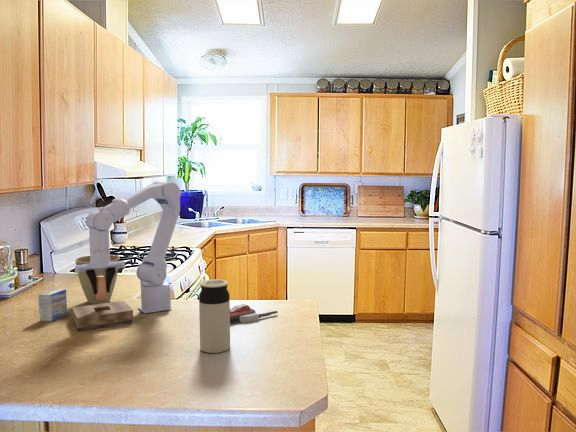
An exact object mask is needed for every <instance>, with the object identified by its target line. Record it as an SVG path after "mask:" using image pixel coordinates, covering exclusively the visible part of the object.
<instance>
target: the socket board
mask: <svg viewBox="0 0 576 432" xmlns="http://www.w3.org/2000/svg"><path fill="white" fill-rule="evenodd" d="M71 310H72V311H71V313H72V315H71V316H72V321H73V323H74V326H75V328H76V330H77V332H83V331H88V330H89V331H90V330H96V329H101V328H108V327H113V326H122V325H129V324H133V323H134V310H133V309H132V307H130V306H129V305H128V304H127V302H126V301H125V300H120V301H119V300H118V301H112V302H110V301H109V302H106V303H102V304H90V305H89V304H88V305H81V306H73V307H71Z"/></svg>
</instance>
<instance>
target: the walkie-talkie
mask: <svg viewBox="0 0 576 432" xmlns="http://www.w3.org/2000/svg"><path fill="white" fill-rule="evenodd" d="M274 314H278V310H274V311H269V312H264V313H256V310H255V309H253V308H252V307H250V305H247V304H245V303H243V304H238V305H234V306H233V307H232V308H230V325H231V324H236V323H251V322H256V321H259V319H261V318H264V317H268V316H271V315H274Z"/></svg>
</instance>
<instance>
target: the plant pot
mask: <svg viewBox="0 0 576 432" xmlns="http://www.w3.org/2000/svg"><path fill="white" fill-rule="evenodd" d="M74 261H75V265H83V264H89V263H90V255H84V256H80V257H77V258H75V260H74ZM114 261H120V256H119V255H114V254H110V262H114ZM115 270H116V273H115V275H114V277H113V279H112V282H111V286H110V292H108V293H107V299H104V300H97V299H96V294H94V293H93V288H92V285H91V282H90V280H89V278H88V276H87V274H86V272H85V271H84V272H78V273H77V276H78V279H79V283H80V286H81V289H82V291H83V293H84V296H85V298H86V300H87V302H88V304H90V305H95V304H102V303H110V301H111V299H112V296H113V292H114V289H115V286H116V282H117V277H118V271H119V268H115ZM94 271H95V273H96V276H106V274H105V269H104V270H94Z"/></svg>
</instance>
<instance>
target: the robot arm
mask: <svg viewBox="0 0 576 432" xmlns="http://www.w3.org/2000/svg"><path fill="white" fill-rule="evenodd" d="M182 193H183V192H182V190H181V188H180V187H179V186H178V184H177V183H176V182H174V181H168V182H167V181H160V180H159V181H154V182H153V183H150V184H147V185H146V186H145V187H143V188H141V190H140V189H139V190H138V191H137V192H136V193H134V194H132V195H131V196H129V197H127V198H125V199H123V198H119V199H117V198H114V199H112V200H111V203H109V204H107V205H105V206H100V207H99V209H98V211H97V210H94V211H91V212H90V213H88V214H87V216H86V218H85V219H86V220H84V223H85V226H86V227H87V228H88V233H89V235H88V236H89V237H88V238H89V256H90V263H89V264H83V265H76V264H75V265H74V272H75V273H77V274H78V272H84V271H85V272H86V274H87V276H88V278H89V280H90V282H91V285H92V288H93V293H94V294H97V289H96V273H95V271H94V270H104V269H105V274H106V281H107V293H108V292H110V286H111V282H112V279H113V277H114V275H115V273H116V270H115V268H118V269H125V268H126V262H125V261H124V260H121V261H120V260H119V261H114V262H110V255H111V253H110V231H109V230H110V228H111V227H112V225H113V224H115V222H118V221H119V220H121V219H122V218H124V217H126V216H127V215H129V214H130V211H131V209H132V208H135V207H137V206H139V205H141V204H142V203H145V202H147V201H149V200H151V199H153V200H154V201H156V203H157V204H158V205H159V206H160V209H162V212H161V217H160V220H159V222H158V226H157V228H156V231H155V234H154V238H153V239H152V240H153V241H152V243H151V247H150V250H149V253H148V254H147V255H146V256H144V257H143V259H142V261H141V263H140V264H139V265H138V266H137V268H136V277H137V279H139V281H140V298H141V299H140V303H141V305H140V306H139V305H138V307H137V308H138V310H139V311H141V312H142V314H150V313H156V312H163V311H170V310H172V307H171V305H172V303H171V302H172V301H171V300H172V299H171V288H170V284H169V282H167V281H166V282H165V280H166V279H167V267H168V263H167V261H166V259H165V258H166V255H167V252H168V248H169V246H170V243H171V239H172V237H173V233H174V231H175V227H176V224H177V222H178V218H179V216H180V212H181V200H180V199H181V195H182Z"/></svg>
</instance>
